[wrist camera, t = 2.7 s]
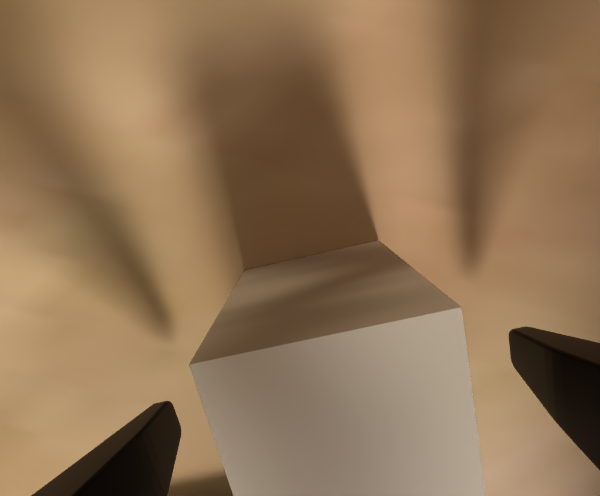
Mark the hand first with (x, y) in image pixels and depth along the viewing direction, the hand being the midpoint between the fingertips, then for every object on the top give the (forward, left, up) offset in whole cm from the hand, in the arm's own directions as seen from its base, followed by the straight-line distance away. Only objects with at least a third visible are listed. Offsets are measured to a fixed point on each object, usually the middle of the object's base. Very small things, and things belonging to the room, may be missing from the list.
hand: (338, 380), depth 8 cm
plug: (0, 0, -2) cm, 2 cm away
